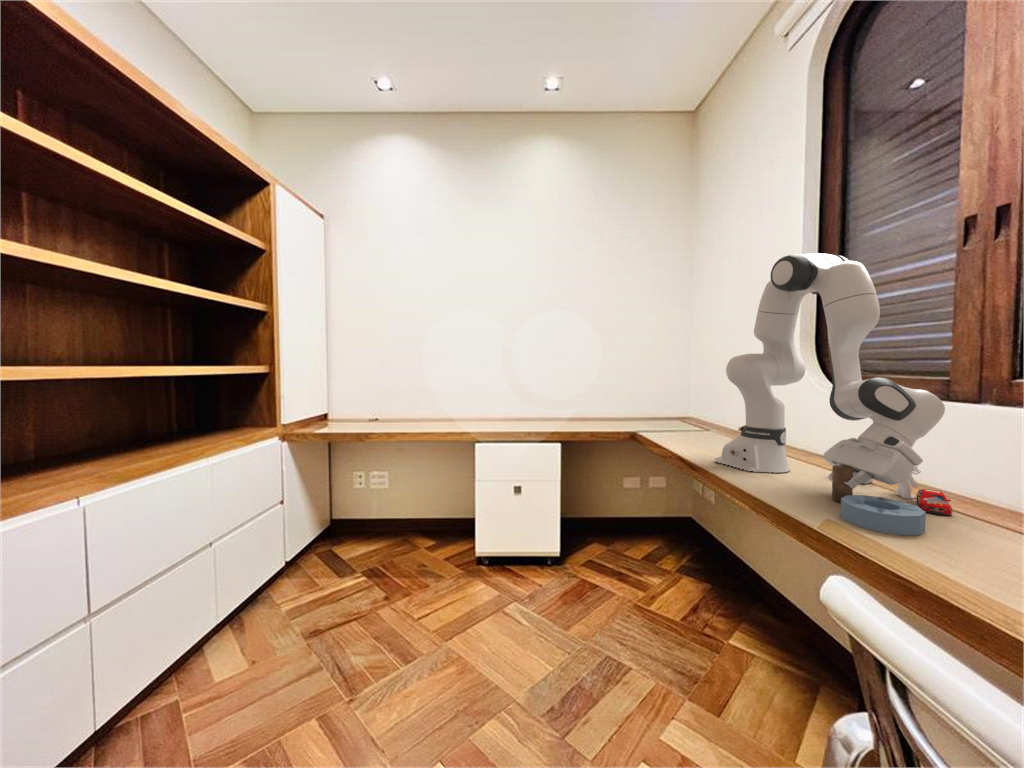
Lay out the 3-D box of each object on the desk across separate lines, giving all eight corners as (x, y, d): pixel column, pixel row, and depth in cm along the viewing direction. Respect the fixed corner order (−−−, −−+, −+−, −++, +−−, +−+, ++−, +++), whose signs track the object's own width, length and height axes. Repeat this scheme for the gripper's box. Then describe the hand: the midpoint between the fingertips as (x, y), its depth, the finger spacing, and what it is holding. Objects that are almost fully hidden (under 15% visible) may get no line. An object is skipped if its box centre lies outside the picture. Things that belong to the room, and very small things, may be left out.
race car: (953, 519, 88) (953, 502, 87) (918, 513, 91) (919, 497, 91) (947, 503, 97) (947, 488, 97) (915, 499, 101) (916, 483, 101)
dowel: (829, 499, 100) (829, 466, 100) (835, 496, 102) (836, 464, 102) (848, 503, 97) (849, 470, 96) (855, 500, 99) (855, 467, 98)
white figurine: (884, 490, 107) (885, 447, 107) (902, 491, 106) (903, 447, 106) (906, 501, 99) (907, 454, 98) (926, 502, 98) (927, 455, 97)
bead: (831, 519, 88) (832, 501, 88) (855, 508, 95) (855, 491, 94) (912, 540, 77) (912, 520, 77) (932, 526, 84) (932, 507, 83)
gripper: (840, 429, 108) (803, 463, 110) (910, 443, 88) (863, 486, 89) (857, 445, 108) (819, 479, 109) (930, 463, 88) (883, 505, 89)
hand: (839, 482), depth 99 cm, fingers closed on dowel, 4 cm apart
